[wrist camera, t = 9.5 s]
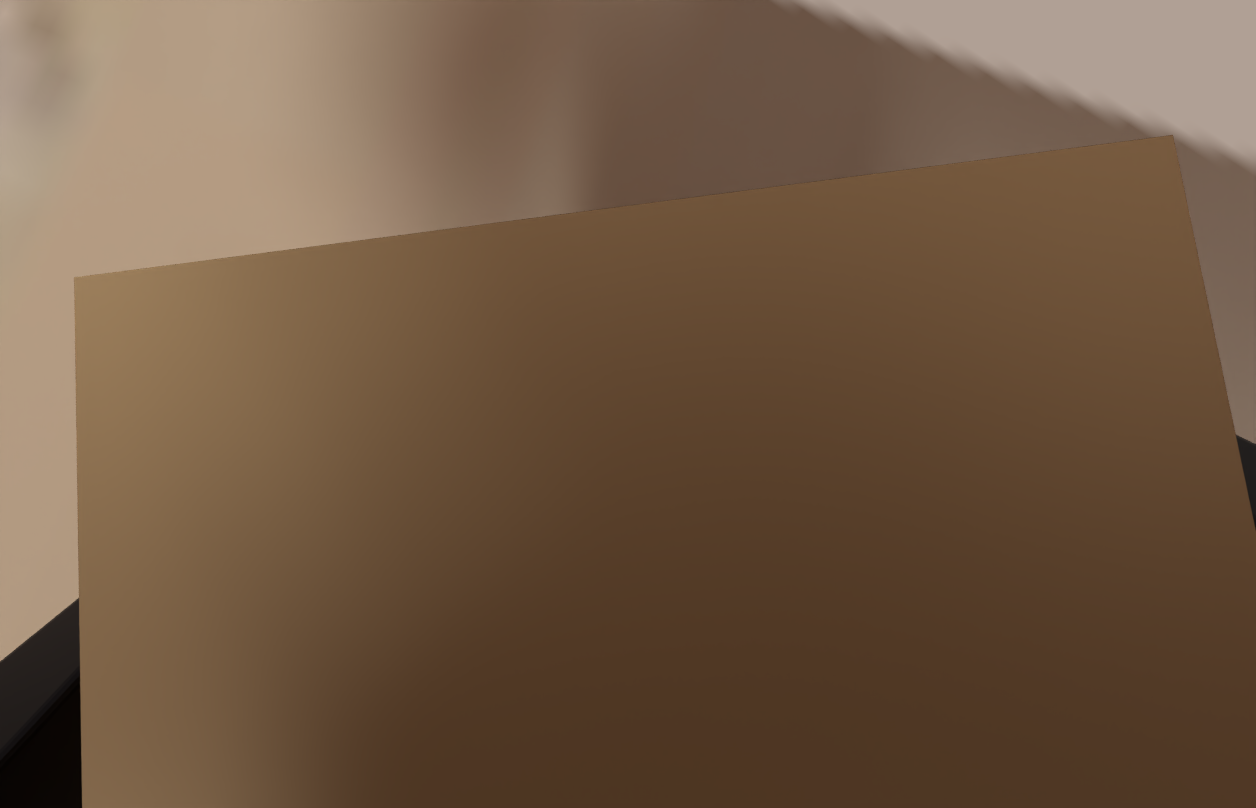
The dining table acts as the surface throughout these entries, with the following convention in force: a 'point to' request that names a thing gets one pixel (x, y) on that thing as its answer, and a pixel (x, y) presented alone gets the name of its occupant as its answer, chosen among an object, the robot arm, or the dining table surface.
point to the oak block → (678, 508)
